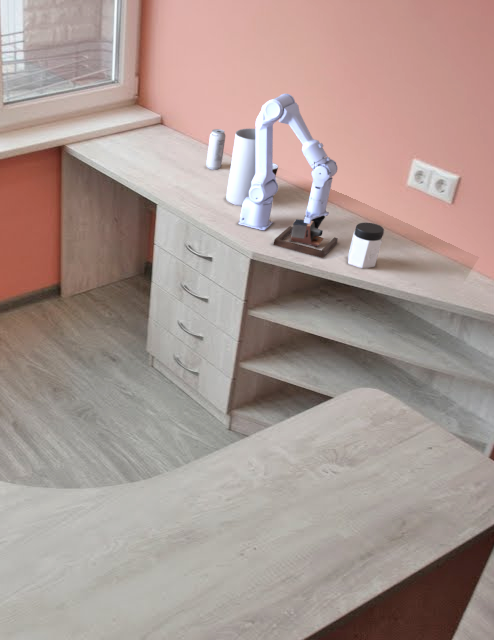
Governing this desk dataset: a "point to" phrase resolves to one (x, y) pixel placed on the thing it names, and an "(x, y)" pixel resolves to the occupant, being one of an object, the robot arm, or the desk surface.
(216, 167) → the energy drink can
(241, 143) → the cylinder vase
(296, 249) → the frame
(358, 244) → the jar
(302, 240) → the electronic device
